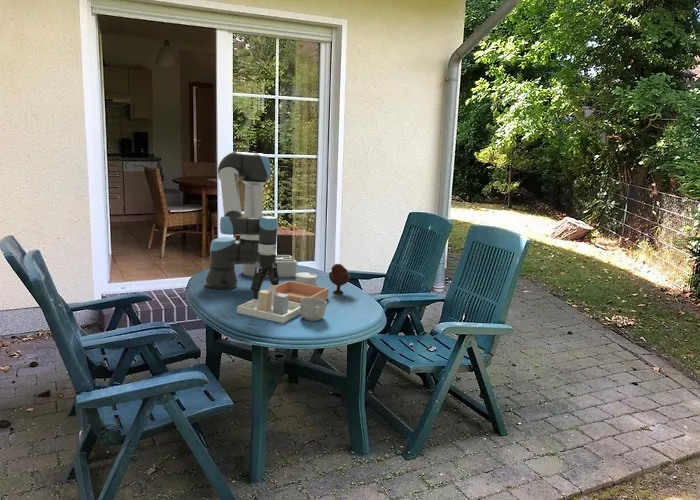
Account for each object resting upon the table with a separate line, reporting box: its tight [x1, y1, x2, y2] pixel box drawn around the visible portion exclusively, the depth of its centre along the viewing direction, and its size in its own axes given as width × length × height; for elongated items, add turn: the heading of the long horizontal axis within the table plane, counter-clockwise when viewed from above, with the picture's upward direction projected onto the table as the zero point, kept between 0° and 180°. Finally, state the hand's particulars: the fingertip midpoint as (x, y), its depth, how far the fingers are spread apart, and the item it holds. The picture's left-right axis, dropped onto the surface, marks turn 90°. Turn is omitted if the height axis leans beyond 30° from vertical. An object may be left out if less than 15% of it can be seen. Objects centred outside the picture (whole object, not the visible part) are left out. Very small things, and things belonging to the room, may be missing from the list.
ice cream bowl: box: [328, 263, 352, 296], centre depth 266 cm, size 11×11×15 cm
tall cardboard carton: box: [257, 289, 272, 312], centre depth 231 cm, size 5×4×8 cm
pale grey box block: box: [273, 293, 289, 315], centre depth 228 cm, size 5×4×8 cm
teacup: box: [299, 298, 328, 322], centre depth 224 cm, size 14×11×8 cm
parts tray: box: [236, 299, 301, 324], centre depth 230 cm, size 22×20×3 cm
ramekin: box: [295, 271, 318, 286], centre depth 278 cm, size 11×11×5 cm
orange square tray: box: [265, 280, 330, 303], centre depth 250 cm, size 22×22×5 cm
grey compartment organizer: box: [241, 254, 298, 278], centre depth 293 cm, size 17×28×9 cm, turn 110°
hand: (264, 302), depth 231 cm, fingers open, 12 cm apart
